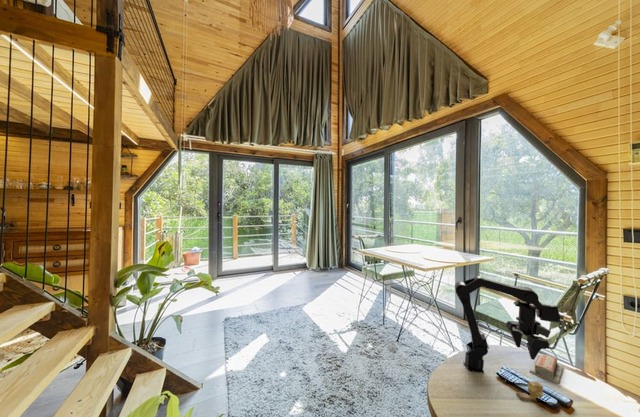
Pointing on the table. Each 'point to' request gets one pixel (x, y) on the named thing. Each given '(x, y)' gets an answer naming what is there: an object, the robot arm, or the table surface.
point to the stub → (532, 391)
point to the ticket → (524, 375)
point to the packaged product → (547, 367)
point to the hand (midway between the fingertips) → (525, 353)
